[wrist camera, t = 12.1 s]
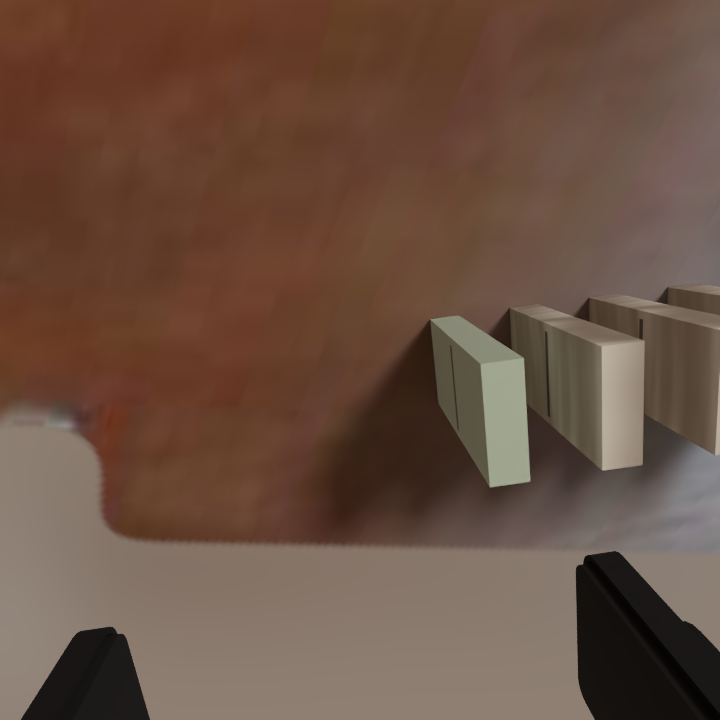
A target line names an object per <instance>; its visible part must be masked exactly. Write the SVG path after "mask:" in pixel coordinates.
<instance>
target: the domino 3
mask: <svg viewBox="0 0 720 720" xmlns="http://www.w3.org/2000/svg"><path fill="white" fill-rule="evenodd" d="M589 322H591V323H594V324H597V325H600V326H603V327H606V328H609V329H612V330H615V331H618V332H620V333H623V334H626V335H629V336H632V337H635V338H638V339H641V340H644V341H645V349H644V412H643V414H645V415H647V416H648V417H650V418H652V419H653V420H655V421H657V422H659V423H660V424H662V425H664V426H666V427H667V428H669V429H671V430H672V431H674V432H676V433H678V434H679V435H681V436H683V437H684V438H686V439H688V440H690V441H691V442H693V443H695V444H697V445H698V446H700V447H702V448H703V449H705V450H707V451H709V452H710V453H712V454H714V455H720V315H715V314H710V313H705V312H701V311H696V310H691V309H686V308H682V307H677V306H672V305H667V304H663V303H658V302H653V301H648V300H643V299H639V298H634V297H629V296H624V295H620V294H613V295H605V296H597V297H590V298H589Z"/></svg>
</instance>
